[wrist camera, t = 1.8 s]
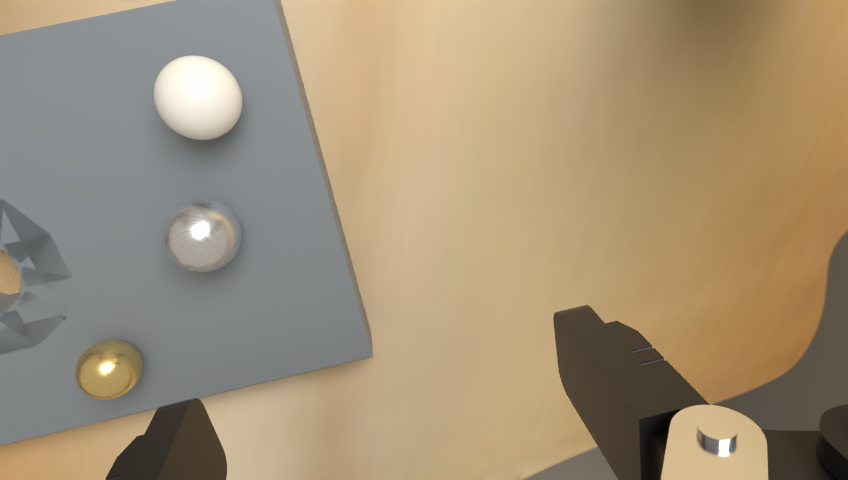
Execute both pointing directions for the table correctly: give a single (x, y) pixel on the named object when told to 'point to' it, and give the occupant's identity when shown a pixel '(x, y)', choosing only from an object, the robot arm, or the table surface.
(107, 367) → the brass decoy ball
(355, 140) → the table surface
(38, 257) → the plate
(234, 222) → the steel ball
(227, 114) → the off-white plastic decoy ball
